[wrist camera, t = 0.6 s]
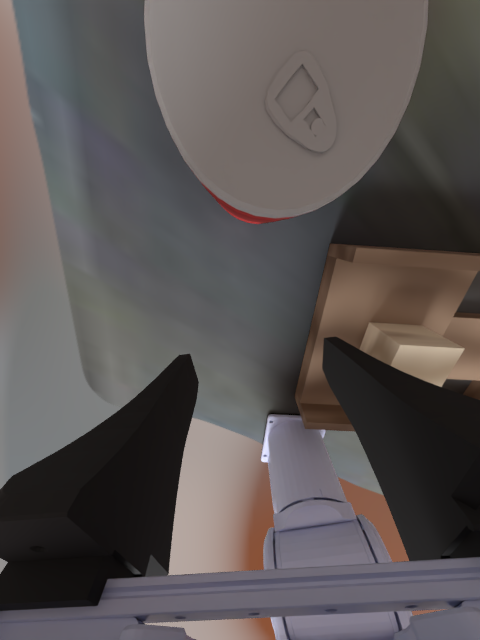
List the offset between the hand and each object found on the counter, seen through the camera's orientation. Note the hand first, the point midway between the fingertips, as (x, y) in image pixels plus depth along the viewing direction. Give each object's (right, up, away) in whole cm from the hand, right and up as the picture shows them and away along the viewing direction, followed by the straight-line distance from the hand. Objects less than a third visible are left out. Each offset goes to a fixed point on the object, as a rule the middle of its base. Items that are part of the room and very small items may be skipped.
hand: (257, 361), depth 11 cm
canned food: (0, +14, +5) cm, 15 cm away
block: (+13, 0, +9) cm, 16 cm away
